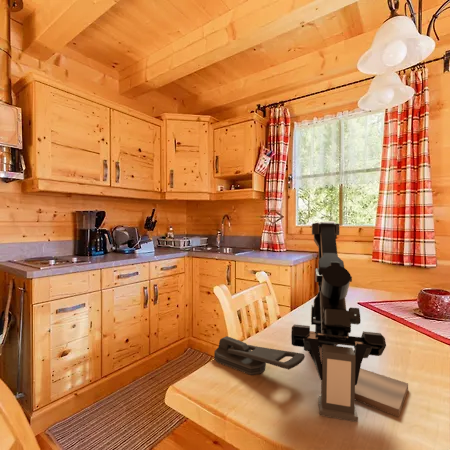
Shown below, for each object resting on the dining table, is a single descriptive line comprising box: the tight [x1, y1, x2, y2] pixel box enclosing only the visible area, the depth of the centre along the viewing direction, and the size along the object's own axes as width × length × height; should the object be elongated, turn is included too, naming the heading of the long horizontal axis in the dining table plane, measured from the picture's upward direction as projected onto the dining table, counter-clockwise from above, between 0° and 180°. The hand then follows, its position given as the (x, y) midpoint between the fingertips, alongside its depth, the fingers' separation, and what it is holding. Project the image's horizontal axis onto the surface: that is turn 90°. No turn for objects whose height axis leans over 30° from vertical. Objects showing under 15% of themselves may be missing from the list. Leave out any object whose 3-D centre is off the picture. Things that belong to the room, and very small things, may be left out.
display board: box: [355, 367, 409, 418], centre depth 65 cm, size 12×12×2 cm
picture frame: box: [317, 344, 359, 423], centre depth 58 cm, size 5×7×12 cm
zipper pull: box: [214, 336, 306, 376], centre depth 74 cm, size 9×7×25 cm
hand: (338, 382), depth 57 cm, fingers closed on picture frame, 6 cm apart
